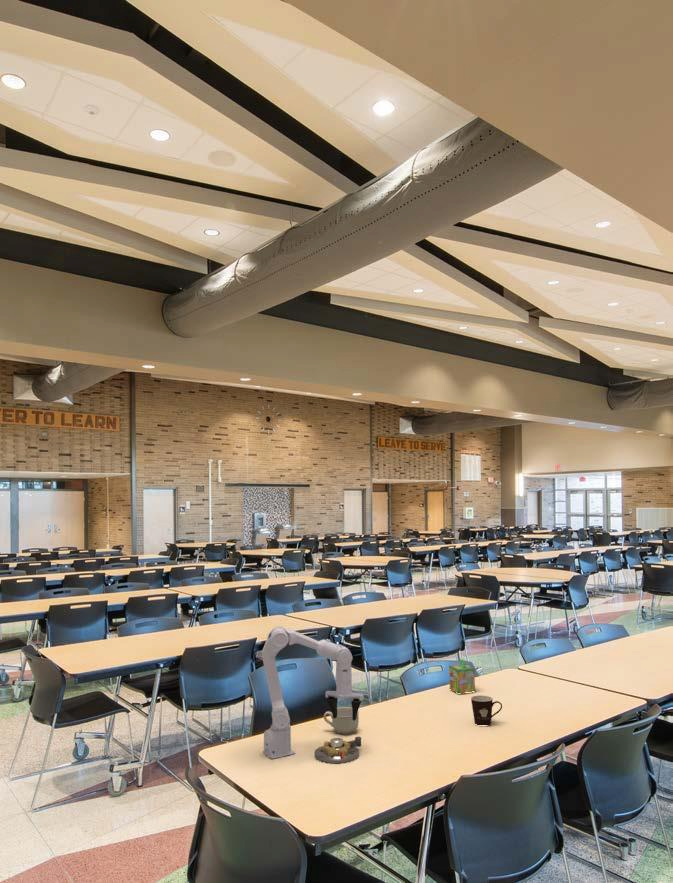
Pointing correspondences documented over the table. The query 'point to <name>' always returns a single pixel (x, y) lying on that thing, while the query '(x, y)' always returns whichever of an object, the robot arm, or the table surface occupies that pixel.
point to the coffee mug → (483, 709)
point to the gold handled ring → (345, 748)
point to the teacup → (343, 720)
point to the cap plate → (334, 759)
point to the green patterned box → (462, 678)
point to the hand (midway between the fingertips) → (344, 718)
